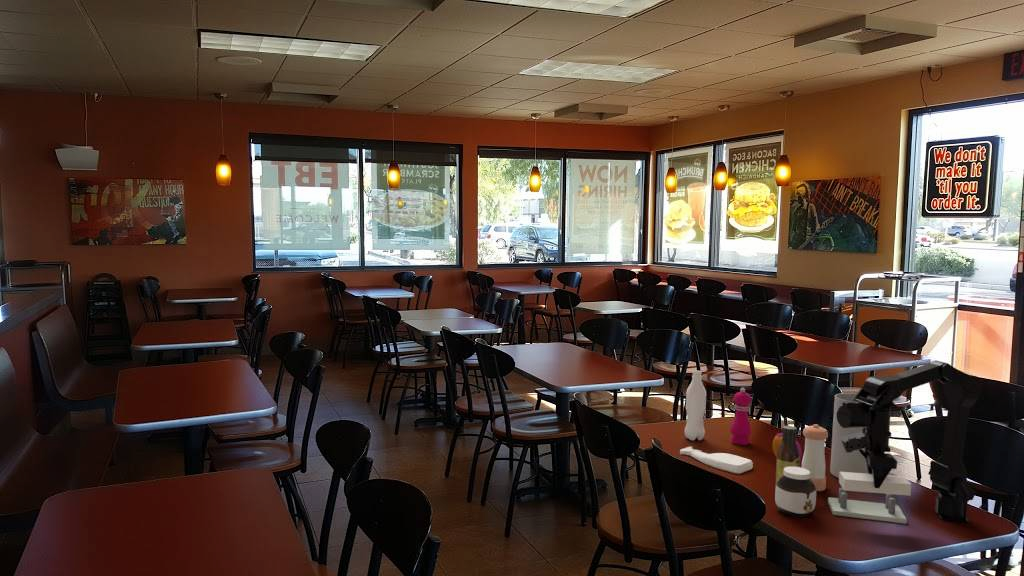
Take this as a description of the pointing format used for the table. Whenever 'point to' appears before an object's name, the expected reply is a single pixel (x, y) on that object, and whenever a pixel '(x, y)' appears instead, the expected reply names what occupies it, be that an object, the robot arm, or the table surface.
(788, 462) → the sauce bottle
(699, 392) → the water bottle
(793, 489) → the spread jar
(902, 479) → the shelf board
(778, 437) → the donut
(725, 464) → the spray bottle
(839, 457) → the cylinder vase
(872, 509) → the peg stand
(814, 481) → the pepper shaker
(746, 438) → the pepper mill
